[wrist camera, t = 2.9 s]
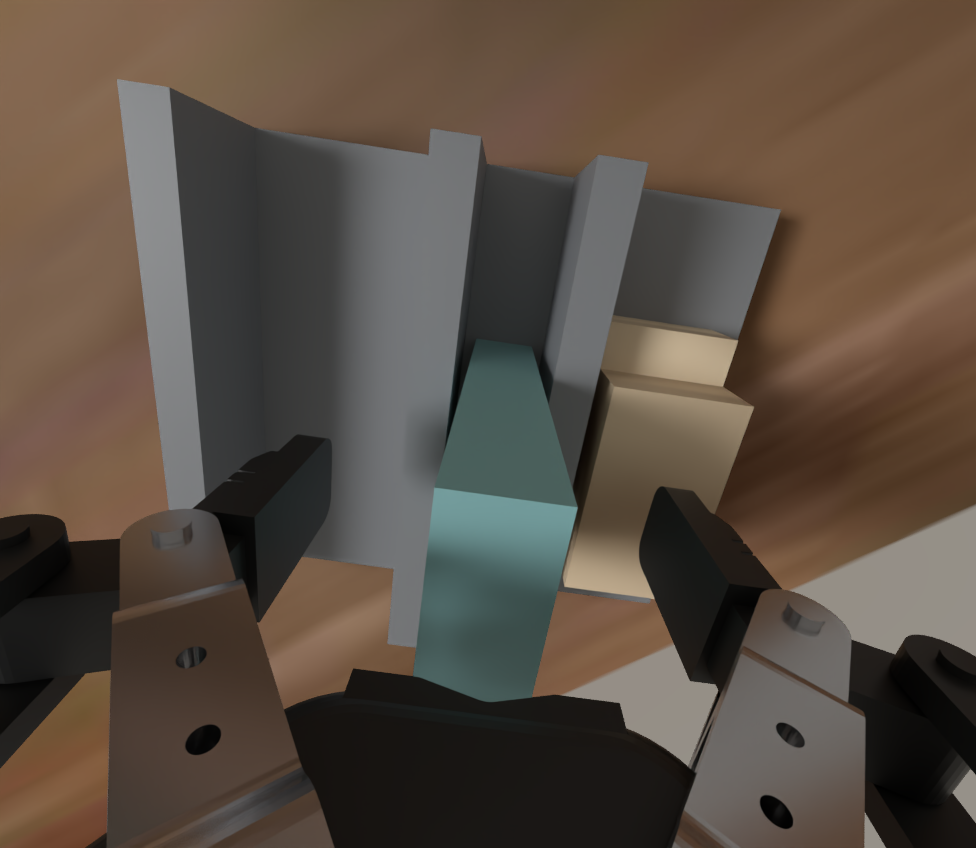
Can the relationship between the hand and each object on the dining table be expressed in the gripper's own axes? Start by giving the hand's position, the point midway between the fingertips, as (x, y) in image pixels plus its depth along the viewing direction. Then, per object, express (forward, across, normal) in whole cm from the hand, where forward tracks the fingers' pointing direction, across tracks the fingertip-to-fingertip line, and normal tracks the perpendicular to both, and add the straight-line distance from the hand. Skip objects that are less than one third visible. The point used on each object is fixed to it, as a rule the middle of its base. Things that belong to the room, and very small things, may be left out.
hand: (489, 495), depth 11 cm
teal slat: (+7, 0, 0) cm, 7 cm away
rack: (+8, +1, 0) cm, 8 cm away
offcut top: (+5, -5, +1) cm, 7 cm away
